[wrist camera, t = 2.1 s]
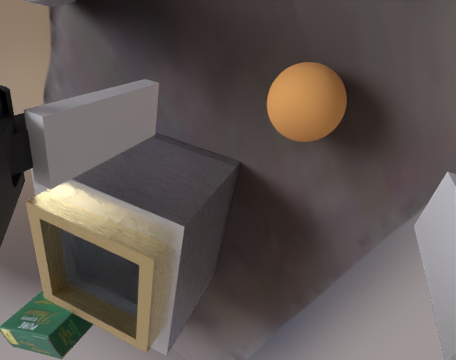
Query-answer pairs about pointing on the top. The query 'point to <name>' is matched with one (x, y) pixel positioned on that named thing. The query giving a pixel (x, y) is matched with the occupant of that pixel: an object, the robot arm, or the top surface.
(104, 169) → the metal box
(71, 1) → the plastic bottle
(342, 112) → the bead
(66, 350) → the coffee box
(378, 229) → the top surface
